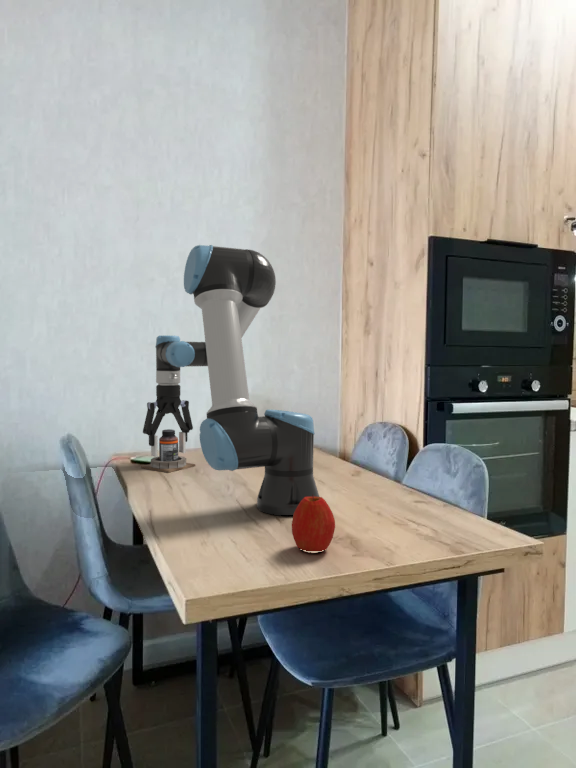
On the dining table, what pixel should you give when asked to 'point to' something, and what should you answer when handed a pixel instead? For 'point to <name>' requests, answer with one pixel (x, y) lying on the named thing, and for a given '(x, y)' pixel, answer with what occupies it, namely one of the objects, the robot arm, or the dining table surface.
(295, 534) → the apple
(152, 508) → the dining table surface
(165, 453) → the supplement bottle
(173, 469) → the socket
